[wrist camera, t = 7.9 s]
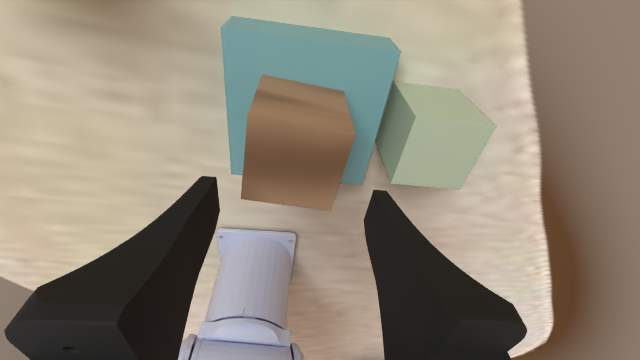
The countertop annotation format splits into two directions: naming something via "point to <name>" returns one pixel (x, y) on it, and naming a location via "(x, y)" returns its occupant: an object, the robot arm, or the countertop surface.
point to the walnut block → (296, 144)
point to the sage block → (431, 136)
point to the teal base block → (308, 77)
